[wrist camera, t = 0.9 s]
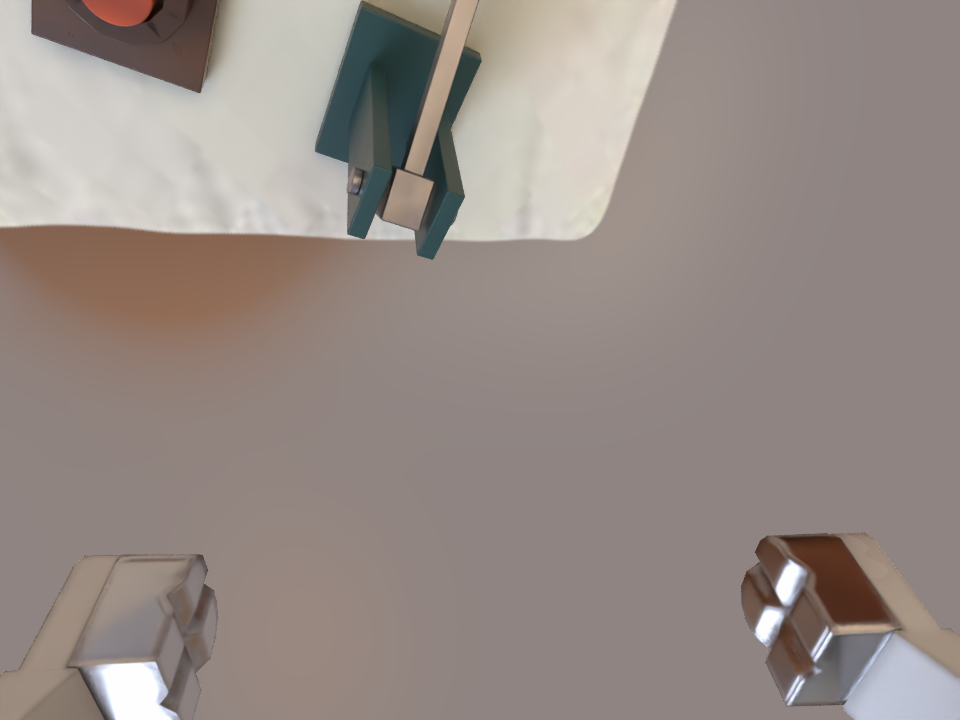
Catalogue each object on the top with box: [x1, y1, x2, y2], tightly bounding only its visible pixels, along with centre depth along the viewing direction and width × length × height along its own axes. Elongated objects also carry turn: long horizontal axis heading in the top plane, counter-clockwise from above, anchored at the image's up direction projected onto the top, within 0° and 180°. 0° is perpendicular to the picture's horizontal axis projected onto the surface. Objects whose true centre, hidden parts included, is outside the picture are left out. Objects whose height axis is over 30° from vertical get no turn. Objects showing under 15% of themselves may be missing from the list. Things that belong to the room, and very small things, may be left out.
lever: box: [376, 0, 479, 231], centre depth 34 cm, size 16×6×2 cm, turn 157°
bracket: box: [315, 1, 482, 260], centre depth 39 cm, size 10×8×14 cm
